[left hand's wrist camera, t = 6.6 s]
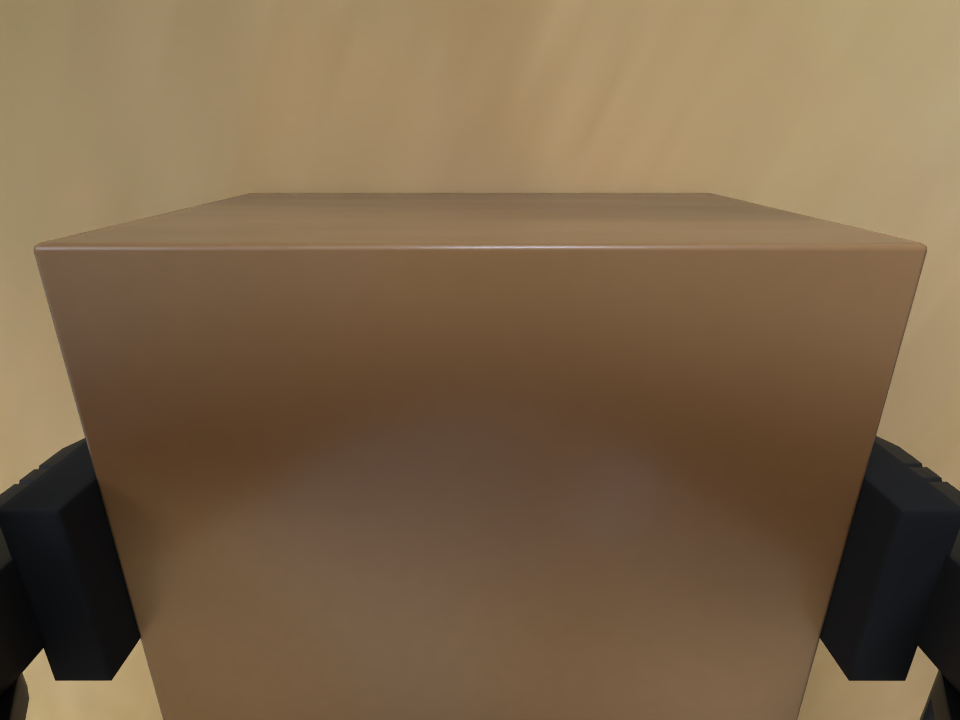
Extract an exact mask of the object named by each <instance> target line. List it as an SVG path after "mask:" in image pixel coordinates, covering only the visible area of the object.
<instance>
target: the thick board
mask: <svg viewBox="0 0 960 720" xmlns="http://www.w3.org/2000/svg"><path fill="white" fill-rule="evenodd" d="M926 253H927V247H926V246H925V245H924V244H921V243H918V242H914V241H910V240H906V239H902V238H897V237H893V236H889V235H885V234H880V233H876V232H872V231H868V230H863V229H859V228H855V227H851V226H846V225H842V224H838V223H834V222H829V221H825V220H821V219H817V218H813V217H808V216H804V215H800V214H796V213H791V212H787V211H783V210H779V209H774V208H770V207H766V206H762V205H757V204H753V203H749V202H745V201H741V200H736V199H732V198H728V197H724V196H719V195H715V194H711V193H249V194H245V195H241V196H237V197H232V198H228V199H224V200H220V201H215V202H211V203H207V204H203V205H198V206H194V207H190V208H186V209H182V210H177V211H173V212H169V213H165V214H160V215H156V216H152V217H148V218H144V219H139V220H135V221H131V222H127V223H122V224H118V225H114V226H110V227H105V228H101V229H97V230H93V231H89V232H84V233H80V234H76V235H72V236H67V237H63V238H59V239H55V240H51V241H46V242H42V243H39V244H37V245H35V246H34V254H35V257H36V261H37V265H38V268H39V272H40V276H41V279H42V283H43V286H44V290H45V294H46V297H47V301H48V304H49V308H50V312H51V315H52V319H53V322H54V326H55V330H56V333H57V337H58V341H59V344H60V348H61V351H62V355H63V359H64V362H65V366H66V369H67V373H68V377H69V380H70V384H71V388H72V391H73V395H74V398H75V402H76V406H77V409H78V413H79V416H80V420H81V424H82V427H83V431H84V435H85V438H86V442H87V445H88V449H89V453H90V456H91V460H92V463H93V467H94V471H95V474H96V478H97V481H98V485H99V489H100V492H101V496H102V500H103V503H104V507H105V510H106V514H107V518H108V521H109V525H110V528H111V532H112V536H113V539H114V543H115V547H116V550H117V554H118V557H119V561H120V565H121V568H122V572H123V575H124V579H125V583H126V586H127V590H128V594H129V597H130V601H131V604H132V608H133V612H134V615H135V619H136V622H137V626H138V630H139V633H140V637H141V640H142V644H143V648H144V651H145V655H146V659H147V662H148V666H149V669H150V673H151V677H152V680H153V684H154V687H155V691H156V695H157V698H158V702H159V706H160V709H161V713H162V716H163V720H797V718H798V714H799V711H800V707H801V703H802V700H803V696H804V693H805V689H806V685H807V682H808V678H809V674H810V671H811V667H812V664H813V660H814V656H815V653H816V649H817V646H818V642H819V638H820V635H821V631H822V628H823V624H824V620H825V617H826V613H827V610H828V606H829V602H830V599H831V595H832V592H833V588H834V584H835V581H836V577H837V574H838V570H839V566H840V563H841V559H842V555H843V552H844V548H845V545H846V541H847V537H848V534H849V530H850V527H851V523H852V519H853V516H854V512H855V509H856V505H857V501H858V498H859V494H860V491H861V487H862V483H863V480H864V476H865V473H866V469H867V465H868V462H869V458H870V455H871V451H872V447H873V444H874V440H875V436H876V433H877V429H878V426H879V422H880V418H881V415H882V411H883V408H884V404H885V400H886V397H887V393H888V390H889V386H890V382H891V379H892V375H893V372H894V368H895V364H896V361H897V357H898V354H899V350H900V346H901V343H902V339H903V336H904V332H905V328H906V325H907V321H908V318H909V314H910V310H911V307H912V303H913V299H914V296H915V292H916V289H917V285H918V281H919V278H920V274H921V271H922V267H923V263H924V260H925V256H926Z"/></svg>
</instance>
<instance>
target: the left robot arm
mask: <svg viewBox="0 0 960 720" xmlns="http://www.w3.org/2000/svg"><path fill="white" fill-rule="evenodd" d="M140 638H141V637H140V633H139V630H138V626H137V622H136V619H135V615H134V612H133V608H132V604H131V601H130V597H129V594H128V590H127V586H126V583H125V579H124V575H123V572H122V568H121V565H120V561H119V557H118V554H117V550H116V547H115V543H114V539H113V536H112V532H111V528H110V525H109V521H108V518H107V514H106V510H105V507H104V503H103V500H102V496H101V492H100V489H99V485H98V481H97V478H96V474H95V471H94V467H93V463H92V460H91V456H90V453H89V449H88V445H87V442H86V438H84V439H82V440H80V441H78V442H76V443H74V444H71V445H69V446H67V447H65V448H63V449H61V450H60V451H59V452H57V453H56V454H55V455H53V456H52V457H50V458H49V459H48V460H46V461H45V462H44V463H42V464H41V465H40V466H39V469H34V470H33V471H32V472H30V473H29V474H28V475H26V476H25V477H23V478H22V479H21V480H20V483H19V484H14V485H13V486H11V487H10V488H9V489H7V490H6V491H5V492H3V493H2V494H1V495H0V720H25V719H26V713H27V707H28V702H29V694H28V688H27V684H26V681H25V679H24V676H23V674H22V672H23V671H24V670H25V669H26V667H27V666H28V665H29V664H30V663H31V662H32V661H33V659H34V658H35V657H36V656H37V655H38V654H39V652H40V651H41V650H42V649H43V648H44V650H45V653H46V656H47V658H48V661H49V664H50V667H51V670H52V672H53V675H54V678H55V681H65V680H112V679H113V678H114V676H115V675H116V673H117V672H118V670H119V669H120V667H121V666H122V664H123V663H124V661H125V660H126V658H127V657H128V655H129V654H130V653H131V651H132V650H133V648H134V647H135V645H136V644H137V642H138V641H139V639H140ZM820 639H821V640H822V642H823V643H824V645H825V646H826V648H827V649H828V650H829V652H830V653H831V655H832V656H833V658H834V659H835V661H836V662H837V664H838V665H839V667H840V668H841V670H842V671H843V672H844V674H845V675H846V677H847V678H848V680H849V681H905V680H906V677H907V674H908V671H909V668H910V666H911V663H912V660H913V657H914V655H915V652H916V649H917V646H919V647H920V648H921V650H922V651H923V652H924V653H925V654H926V655H927V657H928V658H929V659H930V660H931V661H932V662H933V664H934V665H935V666H936V667H937V668H938V669H939V671H938V674H937V676H936V679H935V681H934V684H933V687H932V689H931V692H930V694H929V697H928V700H927V702H926V705H925V707H924V710H923V713H922V715H921V718H920V720H960V491H959V490H957V489H956V488H954V487H953V486H952V485H950V484H949V483H948V482H942V478H941V477H939V476H938V475H937V474H935V473H934V472H933V471H931V470H930V469H929V468H927V467H922V463H920V462H919V461H918V460H916V459H915V458H914V457H912V456H911V455H910V454H908V453H907V452H905V451H904V450H903V449H901V448H900V447H899V446H896V445H894V444H892V443H890V442H888V441H886V440H883V439H881V438H879V437H877V436H875V440H874V444H873V447H872V451H871V455H870V458H869V462H868V465H867V469H866V473H865V476H864V480H863V483H862V487H861V491H860V494H859V498H858V501H857V505H856V509H855V512H854V516H853V519H852V523H851V527H850V530H849V534H848V537H847V541H846V545H845V548H844V552H843V555H842V559H841V563H840V566H839V570H838V574H837V577H836V581H835V584H834V588H833V592H832V595H831V599H830V602H829V606H828V610H827V613H826V617H825V620H824V624H823V628H822V631H821V635H820Z"/></svg>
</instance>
